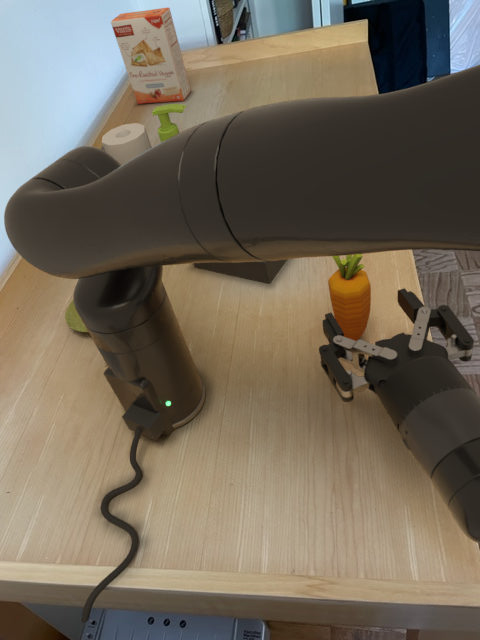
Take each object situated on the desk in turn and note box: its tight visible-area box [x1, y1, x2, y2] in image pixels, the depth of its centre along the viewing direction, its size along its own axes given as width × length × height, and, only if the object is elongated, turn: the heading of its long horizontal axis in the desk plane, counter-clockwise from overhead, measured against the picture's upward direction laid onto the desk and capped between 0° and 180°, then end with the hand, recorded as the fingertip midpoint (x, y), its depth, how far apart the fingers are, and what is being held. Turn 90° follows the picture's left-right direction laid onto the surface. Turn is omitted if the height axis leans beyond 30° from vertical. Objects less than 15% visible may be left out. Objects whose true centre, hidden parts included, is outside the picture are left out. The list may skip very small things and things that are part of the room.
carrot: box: [327, 254, 372, 341], centre depth 64 cm, size 5×5×15 cm
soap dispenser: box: [151, 103, 187, 143], centre depth 92 cm, size 6×7×20 cm
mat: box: [64, 299, 89, 333], centre depth 83 cm, size 11×11×2 cm
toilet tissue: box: [100, 122, 153, 165], centre depth 113 cm, size 9×13×9 cm
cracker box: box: [110, 7, 192, 105], centre depth 136 cm, size 14×6×21 cm, turn 73°
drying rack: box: [192, 259, 288, 285], centre depth 85 cm, size 16×14×10 cm
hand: (364, 306), depth 59 cm, fingers open, 8 cm apart
